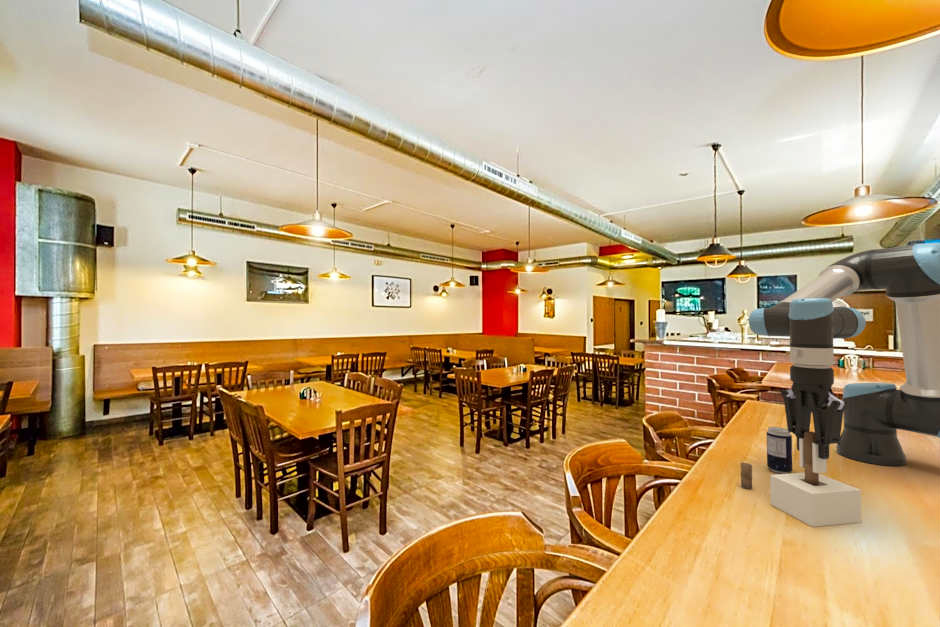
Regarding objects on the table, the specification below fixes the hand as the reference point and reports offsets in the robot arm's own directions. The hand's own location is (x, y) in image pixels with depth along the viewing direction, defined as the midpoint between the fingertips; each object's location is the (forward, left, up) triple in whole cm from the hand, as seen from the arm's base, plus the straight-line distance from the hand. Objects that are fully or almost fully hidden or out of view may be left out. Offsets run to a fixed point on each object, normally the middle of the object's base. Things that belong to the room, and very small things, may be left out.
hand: (812, 469), depth 89 cm
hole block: (0, 0, -10) cm, 10 cm away
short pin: (+4, -14, -10) cm, 18 cm away
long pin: (0, 0, -6) cm, 6 cm away
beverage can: (-14, -22, -10) cm, 28 cm away
